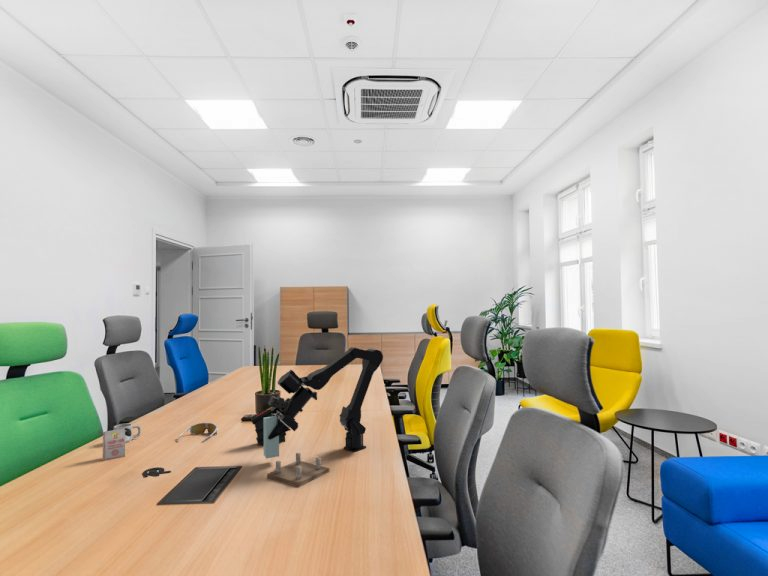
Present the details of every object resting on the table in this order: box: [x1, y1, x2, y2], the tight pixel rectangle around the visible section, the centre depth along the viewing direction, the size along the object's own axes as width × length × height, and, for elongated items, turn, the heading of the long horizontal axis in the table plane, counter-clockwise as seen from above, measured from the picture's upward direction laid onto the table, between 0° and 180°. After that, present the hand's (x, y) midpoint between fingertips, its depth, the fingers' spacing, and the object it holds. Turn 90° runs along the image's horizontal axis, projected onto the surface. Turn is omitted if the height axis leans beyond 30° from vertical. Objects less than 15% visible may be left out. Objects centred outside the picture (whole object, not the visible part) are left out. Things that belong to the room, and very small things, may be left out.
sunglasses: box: [177, 421, 219, 444], centre depth 181 cm, size 14×15×5 cm
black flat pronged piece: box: [142, 466, 172, 478], centre depth 142 cm, size 9×8×1 cm
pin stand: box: [266, 452, 330, 488], centre depth 139 cm, size 14×14×5 cm
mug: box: [113, 423, 142, 444], centre depth 179 cm, size 10×7×7 cm
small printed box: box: [102, 428, 126, 461], centre depth 159 cm, size 4×7×10 cm, turn 128°
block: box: [263, 416, 280, 459], centre depth 150 cm, size 4×4×13 cm
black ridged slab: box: [250, 406, 287, 446], centre depth 173 cm, size 4×13×15 cm, turn 114°
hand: (267, 437), depth 149 cm, fingers closed on block, 4 cm apart
